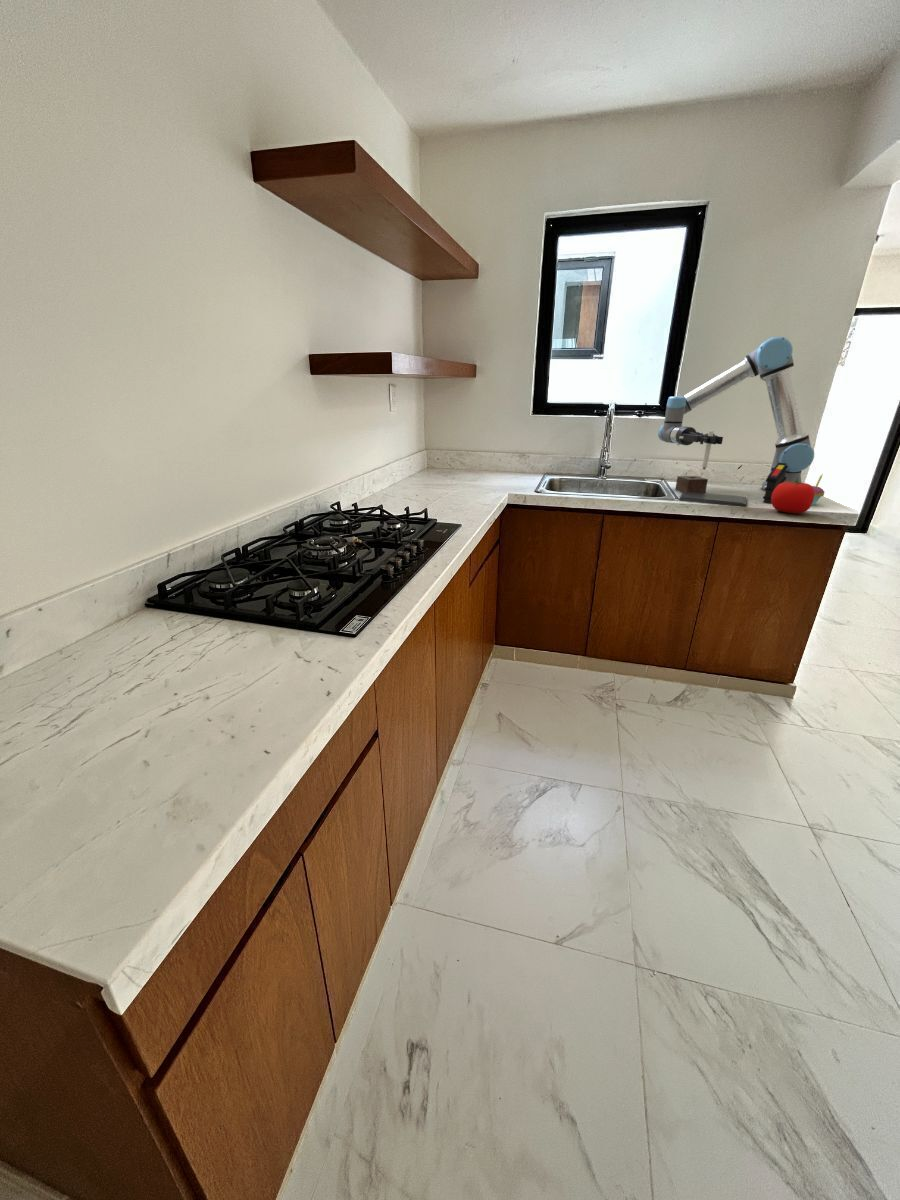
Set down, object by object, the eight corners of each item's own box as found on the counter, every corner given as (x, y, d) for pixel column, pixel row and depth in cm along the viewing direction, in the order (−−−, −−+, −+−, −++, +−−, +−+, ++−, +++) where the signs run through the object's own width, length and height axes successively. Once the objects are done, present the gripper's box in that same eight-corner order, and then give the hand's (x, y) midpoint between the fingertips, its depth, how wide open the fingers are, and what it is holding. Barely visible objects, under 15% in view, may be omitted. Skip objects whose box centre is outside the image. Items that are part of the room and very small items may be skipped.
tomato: (813, 512, 186) (822, 480, 181) (803, 518, 177) (813, 485, 172) (774, 507, 194) (782, 476, 190) (763, 512, 185) (771, 480, 181)
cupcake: (815, 502, 203) (824, 472, 198) (824, 506, 195) (834, 475, 190) (792, 501, 205) (800, 471, 200) (800, 505, 197) (809, 474, 192)
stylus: (706, 469, 205) (714, 430, 199) (706, 469, 203) (713, 431, 197) (701, 468, 206) (708, 430, 200) (701, 469, 204) (708, 430, 198)
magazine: (784, 494, 208) (788, 463, 199) (771, 512, 203) (774, 480, 194) (774, 493, 211) (777, 462, 201) (761, 511, 205) (764, 479, 196)
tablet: (745, 499, 208) (746, 496, 208) (745, 506, 195) (746, 503, 194) (683, 493, 219) (683, 490, 218) (679, 500, 205) (679, 497, 205)
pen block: (693, 489, 229) (695, 475, 226) (705, 492, 221) (708, 479, 218) (675, 489, 228) (677, 476, 225) (686, 493, 219) (689, 479, 217)
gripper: (697, 444, 219) (733, 450, 197) (666, 444, 217) (699, 450, 195) (701, 426, 216) (738, 430, 194) (669, 426, 214) (703, 430, 192)
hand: (718, 440), depth 195 cm, fingers closed on stylus, 2 cm apart
